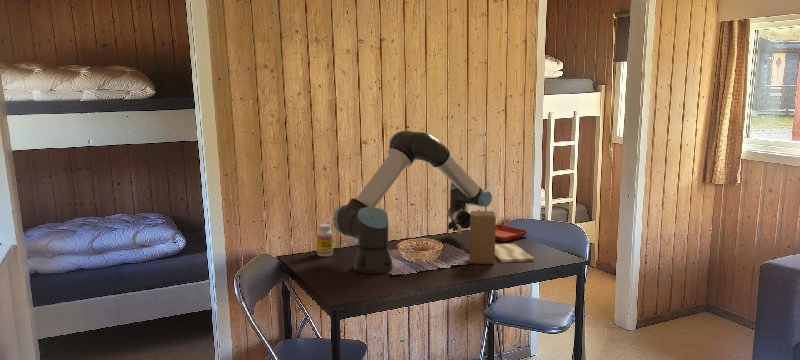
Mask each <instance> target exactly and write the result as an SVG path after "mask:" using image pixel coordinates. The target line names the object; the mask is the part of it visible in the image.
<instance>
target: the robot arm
mask: <svg viewBox="0 0 800 360" xmlns="http://www.w3.org/2000/svg"><path fill="white" fill-rule="evenodd" d="M387 152H388V153H387V154H388V156H387V157H386V158H385V159H384V161H383V162H382V163H381V165H380V166H379V168H378V169H377V170H376V172H374V174H373V176H372V177H371V178H370V180H369V181H368V182H367V184H366V185H365V186H364V188H363V189H362V190H361V191H360V193H359V194H358V195H357V197H352V198H351V199H349V201H348V202H347V204H344V205H343V204H342V205H340V206H339V207H337V209H336V210H335V211H334V214H333V225H334V228H335V230H336V231H337V232H338V233H341V234H342V235H343V236H348V237H351V238H355V239H357V240H358V241H357V242H358V243H357V245H358V248H357V249H358V250H357V253H356V257H355V260H354V263H353V269H354V271H356V272H358V273H361V274H369V275H375V274H376V275H378V274H383V273H385V274H386V273H388V272H390V271H392V270H393V268H394V267H393V264H394V263H393V260H392V257H391V254H390V251H389V223H390V222H389V215H388V213H387V211H386V210H384V209H382V208H379V207H377V206H378V205H379V203H380V202H381V200H383V198H384V197H385V195H386V194H387V192H389V190H390V189H391V187H392V185H394V183H395V182H396V181H397V179H398V177H399V176H400V175H401V173H402V172H403V170H404V169H405V168H409V167H411V166H412V165H413V163H414V162H415V161H416V160H417V161H418V160H419V161H423V162H427V163H428V164H430V165H431V166H432V167H433V168H437V169H438V170H439V171H440V172H441V173H442V174H444V176H445V177H446V178H447V179H448V180H449V181H450V187H449V188H450V190H449V208H448V211H447V215H448V217H449V219H450V221H449V222H448V230H452V232H457V233H458V234H462V229H463V230H464V229H465V230H467V229H470V213H471V212H470V213H469V212H468V211H467V205H471V206H472V205H473V206H477V207H480V208H481V207H483V208H487V207H490V205H491V202H492V201H493V196H492V193H491V192H490V190H486V189H483V188H482V187H481V186H479V184H478V183H477V182H476V181H475V180H474V179H473V178H472V177H471V176H470V175H469V174H468V173H467V171H466V170H465V169H464V168H463V167H462V166H461V165H460V164H459V163H458V162H457V161H456V160H455V159H454V158H453V157H452V156H451V151H450V150H449V149H448V147H446V146H445V144H444V143H442V142H441V141H440V140H439V139H438V138H436V137H435V136H434V135H432V134H430V133H427V132H423V131H422V132H419V131H410V130H400V131H397V132H395V133H394V134H392V136H391V137H390V140H389V145H388V150H387Z"/></svg>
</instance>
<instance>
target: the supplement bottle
mask: <svg viewBox="0 0 800 360" xmlns="http://www.w3.org/2000/svg"><path fill="white" fill-rule="evenodd" d="M318 229H319V230H318V231H317V232H316V254H317V255H318V256H319V257H331V256H332V255H333V253H334V249H333V248H334V245H333V241H334V240H333V239H334V237H333V235H334V234H333V231H332V230H331V224H328V223H322V224H319V225H318Z"/></svg>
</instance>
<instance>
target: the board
mask: <svg viewBox="0 0 800 360" xmlns="http://www.w3.org/2000/svg"><path fill="white" fill-rule="evenodd" d="M495 260H497V261H499V262H500V263H518V262H519V263H521V262H534V261H535V257H534V256H532V255H530V254H529V253H528V252H526V251H525V250H524V249H522V248H521V247H520V246H518V245H517V244H516V243H514V242H512V243H498V244H497V243H495Z"/></svg>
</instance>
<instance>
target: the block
mask: <svg viewBox="0 0 800 360" xmlns="http://www.w3.org/2000/svg"><path fill="white" fill-rule="evenodd" d="M496 222H497V219H496V214H495V212H494V211H492V210H491V211H490V210H489V211H487V210H472V211H470V227H469V251H468V252H469V263H470V264H472V263H473V264H472V265H474V264H475V265H476V264H477V265H480V264H481V265H494V264H495V263H496V262H495V261H496V258H495V244H496V240H495V228H496V225H497V224H496Z"/></svg>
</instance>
